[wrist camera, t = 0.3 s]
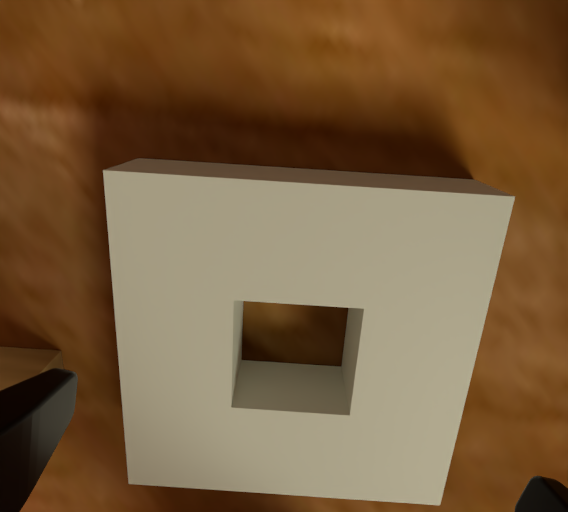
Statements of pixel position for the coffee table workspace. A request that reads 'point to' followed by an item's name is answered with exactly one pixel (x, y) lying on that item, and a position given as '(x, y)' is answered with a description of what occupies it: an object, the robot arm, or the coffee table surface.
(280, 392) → the socket block
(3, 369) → the peg
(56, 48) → the coffee table surface
